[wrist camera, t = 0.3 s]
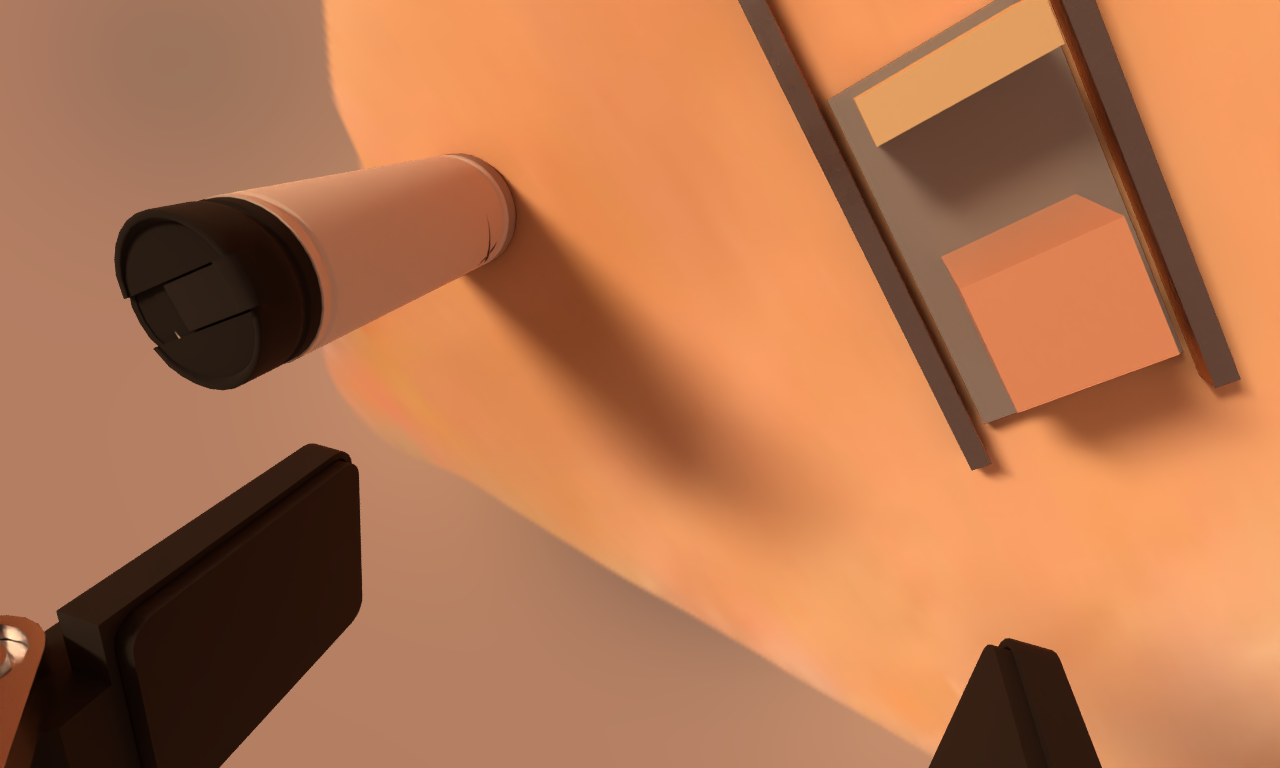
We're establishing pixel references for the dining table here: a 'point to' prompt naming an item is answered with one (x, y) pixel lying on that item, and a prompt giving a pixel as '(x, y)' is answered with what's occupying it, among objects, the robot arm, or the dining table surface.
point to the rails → (1132, 163)
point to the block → (1061, 301)
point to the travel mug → (304, 260)
